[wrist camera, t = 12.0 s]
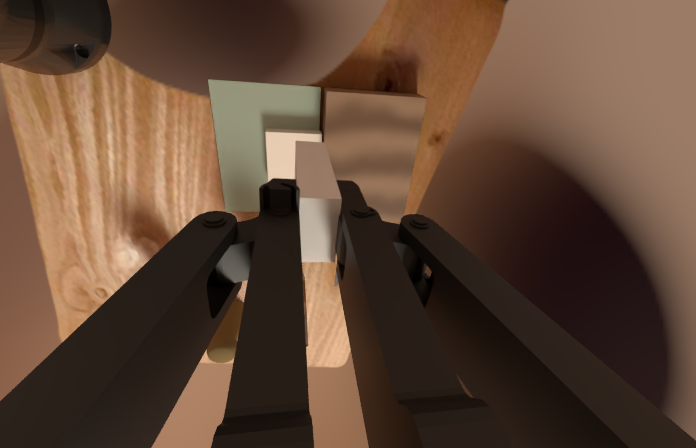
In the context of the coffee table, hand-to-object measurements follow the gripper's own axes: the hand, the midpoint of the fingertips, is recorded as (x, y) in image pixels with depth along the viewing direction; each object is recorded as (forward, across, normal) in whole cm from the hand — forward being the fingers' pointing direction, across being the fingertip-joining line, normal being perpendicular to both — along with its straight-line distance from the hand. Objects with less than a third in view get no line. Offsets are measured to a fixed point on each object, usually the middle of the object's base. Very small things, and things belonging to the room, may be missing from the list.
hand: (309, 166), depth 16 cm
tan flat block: (+32, +11, -10) cm, 35 cm away
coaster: (+31, 0, -10) cm, 33 cm away
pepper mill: (+32, -12, -43) cm, 55 cm away
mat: (+32, -4, -10) cm, 34 cm away
